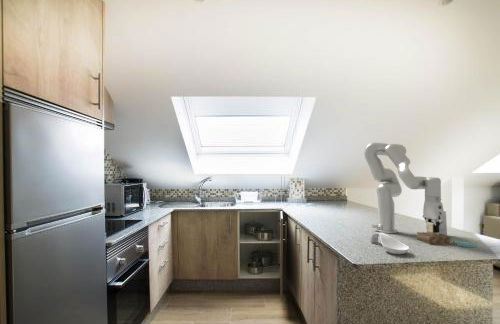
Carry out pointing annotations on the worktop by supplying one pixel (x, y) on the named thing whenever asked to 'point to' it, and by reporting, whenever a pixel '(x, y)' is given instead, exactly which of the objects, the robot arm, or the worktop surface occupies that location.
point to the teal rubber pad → (464, 244)
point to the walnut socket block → (433, 238)
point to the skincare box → (443, 225)
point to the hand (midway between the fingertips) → (432, 230)
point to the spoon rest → (390, 243)
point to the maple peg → (431, 229)
